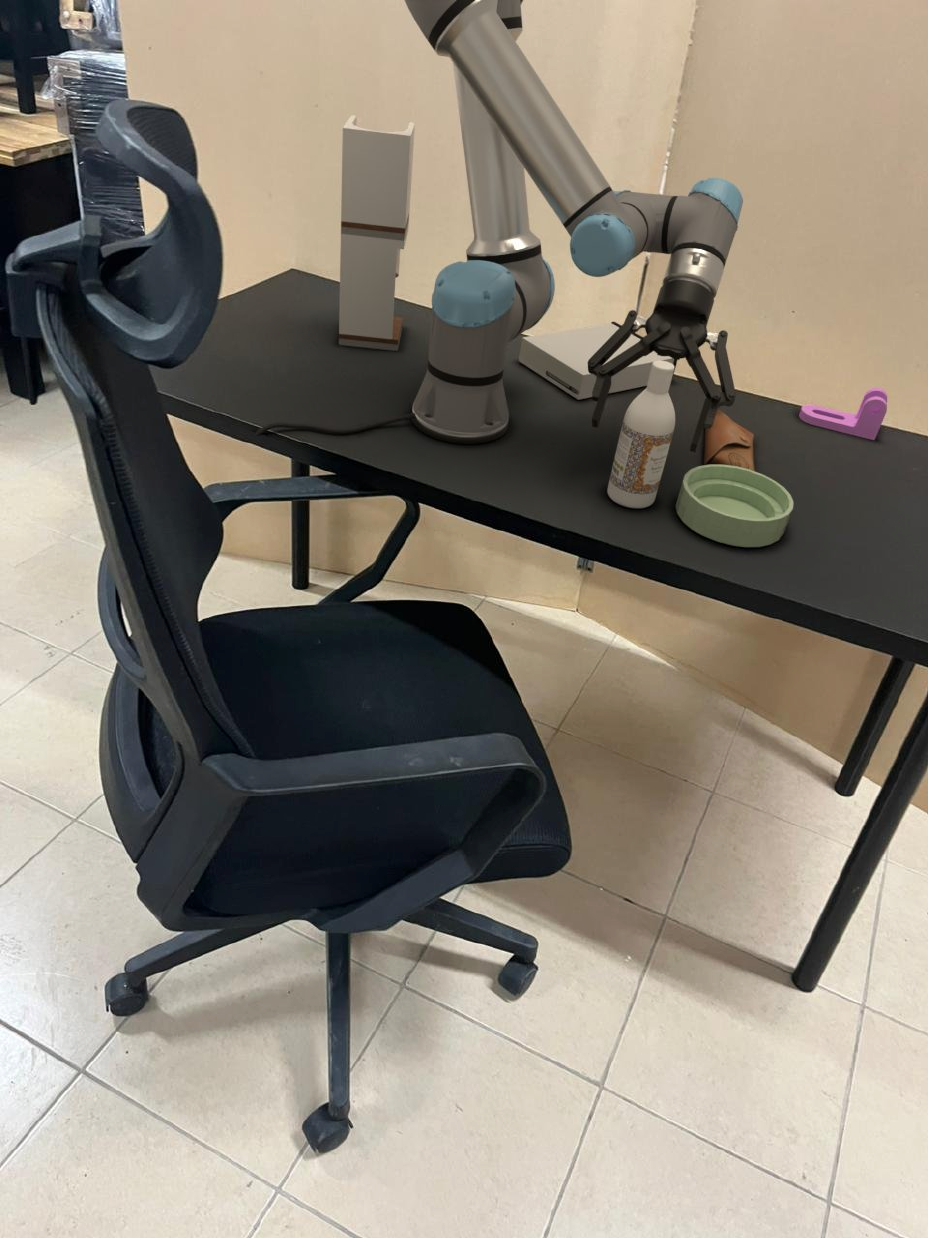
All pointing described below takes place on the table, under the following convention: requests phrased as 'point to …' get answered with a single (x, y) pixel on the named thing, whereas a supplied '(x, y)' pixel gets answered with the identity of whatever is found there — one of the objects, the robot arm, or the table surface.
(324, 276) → the table surface
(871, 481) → the table surface
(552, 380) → the disc drive
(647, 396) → the bath foam
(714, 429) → the sunglasses case
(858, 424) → the bracket
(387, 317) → the tall white banded column
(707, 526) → the dish
